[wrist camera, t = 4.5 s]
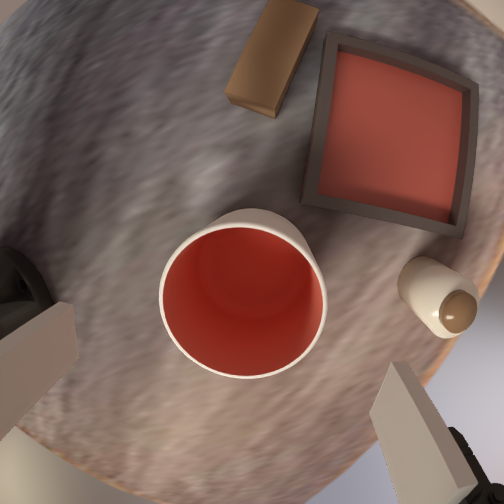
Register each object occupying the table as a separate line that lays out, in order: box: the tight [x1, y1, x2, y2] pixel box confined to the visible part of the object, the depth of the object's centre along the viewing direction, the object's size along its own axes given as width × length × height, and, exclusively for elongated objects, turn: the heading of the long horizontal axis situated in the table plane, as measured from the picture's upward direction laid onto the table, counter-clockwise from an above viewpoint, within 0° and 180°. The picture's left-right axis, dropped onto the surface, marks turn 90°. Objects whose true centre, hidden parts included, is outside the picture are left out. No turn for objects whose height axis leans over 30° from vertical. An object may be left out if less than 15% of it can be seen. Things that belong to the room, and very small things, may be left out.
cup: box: [159, 208, 328, 379], centre depth 23 cm, size 10×10×10 cm
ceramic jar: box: [397, 256, 479, 338], centre depth 23 cm, size 5×5×8 cm
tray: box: [300, 31, 479, 239], centre depth 23 cm, size 15×15×2 cm
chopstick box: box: [224, 0, 319, 119], centre depth 22 cm, size 4×10×4 cm, turn 158°
